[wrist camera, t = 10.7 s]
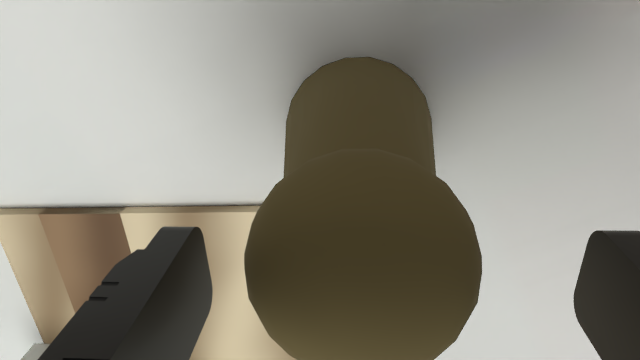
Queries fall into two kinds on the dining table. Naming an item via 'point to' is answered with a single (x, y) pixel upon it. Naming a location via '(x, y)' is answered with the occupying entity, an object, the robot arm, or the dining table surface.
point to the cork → (361, 226)
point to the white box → (35, 352)
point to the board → (117, 243)
